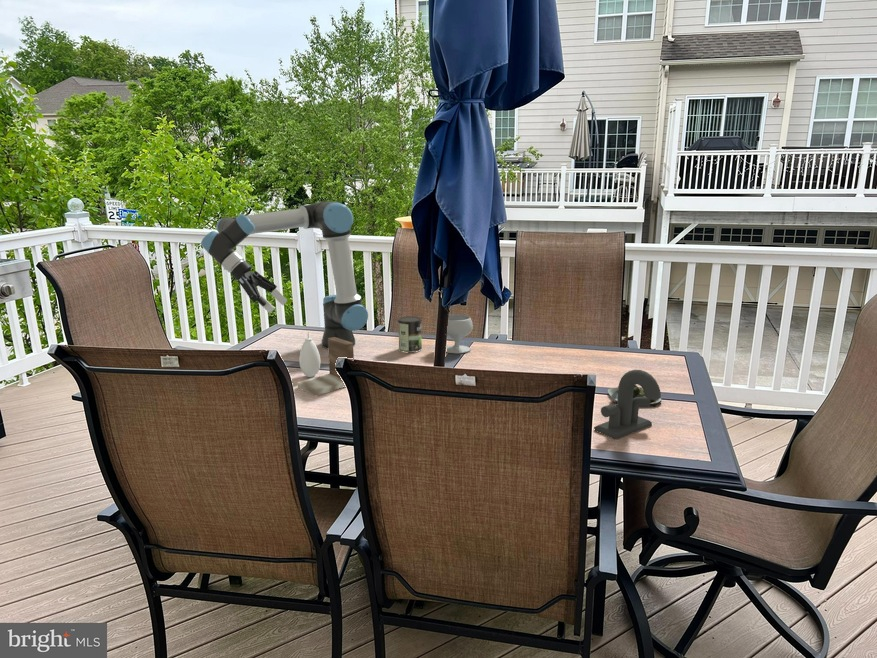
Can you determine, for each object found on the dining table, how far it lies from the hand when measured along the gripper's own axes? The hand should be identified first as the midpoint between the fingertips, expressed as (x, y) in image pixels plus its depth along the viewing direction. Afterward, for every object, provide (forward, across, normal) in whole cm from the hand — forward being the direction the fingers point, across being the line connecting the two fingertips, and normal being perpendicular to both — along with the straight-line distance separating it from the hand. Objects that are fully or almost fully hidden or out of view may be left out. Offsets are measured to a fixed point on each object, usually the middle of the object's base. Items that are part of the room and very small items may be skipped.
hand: (279, 306), depth 233 cm
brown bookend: (+33, +9, -6) cm, 35 cm away
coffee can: (+50, -39, +12) cm, 65 cm away
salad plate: (+111, +13, +72) cm, 133 cm away
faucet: (+107, +41, +68) cm, 133 cm away
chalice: (+65, -40, +26) cm, 80 cm away
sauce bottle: (+27, 0, -12) cm, 30 cm away
